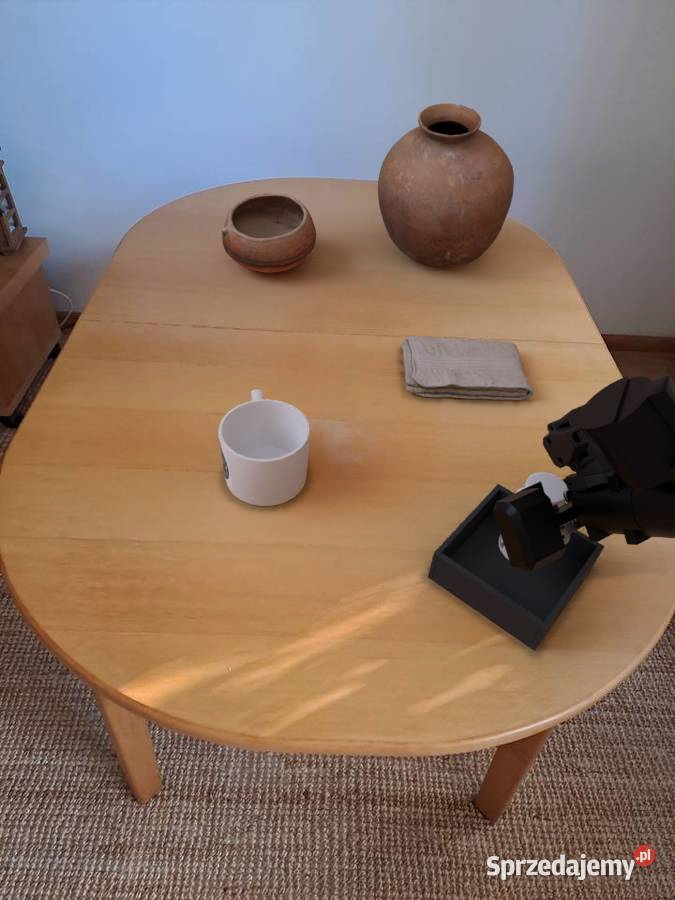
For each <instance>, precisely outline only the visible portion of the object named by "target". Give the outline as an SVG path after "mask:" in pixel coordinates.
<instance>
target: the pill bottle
mask: <svg viewBox="0 0 675 900" xmlns="http://www.w3.org/2000/svg"><path fill="white" fill-rule="evenodd" d="M562 479H563V478H561V477H560V476H557V475H556V474H554V473H550V472H546V471H538V472H534V473H532V474H530V475H529V476H528V477H527V478H526V480H525V483H524V485H523V486H521V487H520V488H518V489H517V490H516V491H515V493H517V492H519V491H521V490H523V489H525V488H527V487H529V486H531V485H534V484H536V483H538V482H540V481H541V483H542V486H543V489H544V492H545V494H546V495H547V496H548V497H549V498H550V499H551V502H552V504H557V505H558V507H560V506H562V505H564V504H567V502H566V501H565V499H564V496H563V492H564V491H566V490H568V488H567V485H566V484H565V482H564V481H563V480H562ZM562 526H563V525H561V526H560V527H562ZM499 547H500V550H501V552H502V553H503V555H504V556H505V557H506V558H507V559H508V555H507V552H506V549H505V546H504V543H503V540H502V537H501V534H500V537H499ZM508 560H509V559H508Z"/></svg>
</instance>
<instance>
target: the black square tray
mask: <svg viewBox="0 0 675 900" xmlns="http://www.w3.org/2000/svg"><path fill="white" fill-rule="evenodd" d="M515 493H516V492H514V491H512V490H509V488H507V487H505V486H502V485H501V484H500V483H497V484H496V485H495V486H494V488H492V490H490V492H489V493H488V494H487V495H486V496H485V497H484V498H483V499H482V500H481V501H480V503H479V504H478V505H477V506H475V508H474V509H473V510H472V511H471V512H470V513H469V514H468V516H466V518H464V520H463V521H461V523H460V524H459V525H458V526H457V527H456V528H455V530H453V532H451V534H450V535H448V537H447V538H446V539H445V540H444V541H443V542H442V544H441V545H440V546H439V547H437V549H436V550H435V551H433V554H432V559H431V562H430V567H429V569H428V574H427V578H428V579H429V580H431V581H433V582H434V583H436V585H438V586H440V587H441V588H443V589H444V590H446V591H447V592H449V593H450V594H451V595H453V596H454V597H456V598H457V599H458V600H460V601H461V602H463V603H465V604H466V605H467V606H469V607H470V608H472V609H473V610H474V611H476V612H477V613H479V614H480V615H482V616H483V617H485V618H486V619H488V620H489V621H490V622H492V623H494V624H495V626H498V627H499V628H501V629H502V630H504V631H505V632H506V633H508V634H509V635H511V636H512V637H514V639H516V640H517V641H519V642H520V643H522V644H524V645H525V646H526V647H528V648H530V649H531V650H533V651H534V652H535V651H537V649H538V648H539V646H540V645H541V644H542V642H543V641H544V639H545V638H546V636H547V634H549V632H550V630H551V629H552V627H554V625H555V623H556V622H557V620H558V619H559V618H560V617H561V615H562V613H563V612H564V611H565V609H566V608H567V606H568V604H569V603H570V602H571V600H572V599H573V597H574V596H575V595H576V593H577V592H578V590H579V589H580V588H581V586H582V584H583V583H584V582H585V580H586V579H587V578H588V576H589V574H590V573H591V572H592V570H593V569H594V566H595V564H596V563H597V562H598V559H599V558H600V556H601V554H602V552H603V550H604V548H605V545H604V544H602V543H601V542H600V541H599V542H597V541H590V540H589V536H588V534H585V533H583V532H581V531H580V530H579V529H578V530H576V531H574V532H572V533H571V534H570V539H569V542H568V543H567V544H565V546H566V548H565V551H564V553H563V555H562V557H560V558H558V559H556V560H554V561H552V562H550V563H549V564H547V565H545V566H543V567H541V568H539V569H537V570H535V571H533V572H528V571H522V570H517V569H515V568H513V567H511V565H510V562H509V560H508V559H507V558H506V557H505V556H504V555H503V553H502V552H501V550H500V547H499V537H500V531H499V528H498V525H497V522H496V519H495V516H494V512H493V509H494V506H495V503H496V502H497V501H499V500H501V499H504V498H506V497H508V496H510V495H512V494H515ZM562 527H563V526H562Z"/></svg>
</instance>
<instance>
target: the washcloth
mask: <svg viewBox="0 0 675 900" xmlns="http://www.w3.org/2000/svg"><path fill="white" fill-rule="evenodd" d="M400 346H401V348H402V351H403V354H402V362H403V363H402V364H403V369H404V383H405V388H406V392H410V393H413V394H414V395H416V396H420V397H424V398H453V399H454V398H455V399H468V400H495V401H497V400H501V401H521V400H527V399H529V398H531V397H532V396H533V394H534V392H533V387H532V385H531V383H530V381H529V379H528V377H527V374H526V373H525V372H524V369H523V360H522V358H521V354H520V352H519V347H518V346H517V345H516V343H513V342H511V341H503V340H502V341H501V340H486V339H485V340H483V339H471V338H458V337H456V338H455V337H453V338H452V337H434V336H433V337H430V336H422V335H421V336H420V335H419V336H415V335H410V336H407V337H406V338H405V339H404V340H403V341H402V342H401V343H400Z"/></svg>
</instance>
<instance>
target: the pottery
mask: <svg viewBox="0 0 675 900" xmlns="http://www.w3.org/2000/svg"><path fill="white" fill-rule="evenodd" d="M417 122H418V125H419V126H416V127H414V128H413V129H410V130H409V131H408V132H407V133H405V134H404V135H403V136H401V138H399V139H398V140H396V142H395V143H394V144H393V145H392V147H391V148H390V149H389V150H388V152H387V153H386V156H385V157H384V159H383V161H382V164H381V167H380V170H379V173H378V179H377V198H378V206H379V209H380V210H379V211H380V214H381V217H382V220H383V221H382V222H383V224H384V227H385V229H386V231H387V234H388V236H389V238H390V240H391V241H392V243H393V244H394V245H395V246H396V247H397V248H398V250H400V252H402V253H403V254H404V255H406V256H408V257H409V258H410V259H412V260H413V261H416V262H419V263H421V264H424V265H427V266H434V267H457V266H462V265H466V264H469V263H471V262H474V261H476V260H478V259H479V258H480V257H481V256H482V255H483V254H484V253H485V252H486V251H487V250H489V248H491V246H492V245H493V244H494V242H495V241H496V240H497V237H498V236H499V234H500V233H501V230H502V228H503V226H504V225H505V224H504V223H505V221H506V218H507V217H508V213H509V210H510V208H511V204H512V200H513V196H514V187H515V174H514V173H515V172H514V167H513V165H512V162H511V159H510V158H509V157H508V154H507V153H506V152H505V151H504V149H503V148H502V147H501V146H500V145H499V143H498V142H497V141H496V140H495V139H494V138H493V137H491V136H490V135H489V134H488V133H486V132H484V130H483V131H482V130H481V129H480V128H481V126H482V118H481V115H480V113H478V112H477V110H475V109H474V108H471V107H469V106H467V105H463V104H456V103H437V104H432V105H429V106H427V107H425V108H424V109H422V110H421V111H420V112H419V114H418V118H417Z"/></svg>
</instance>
